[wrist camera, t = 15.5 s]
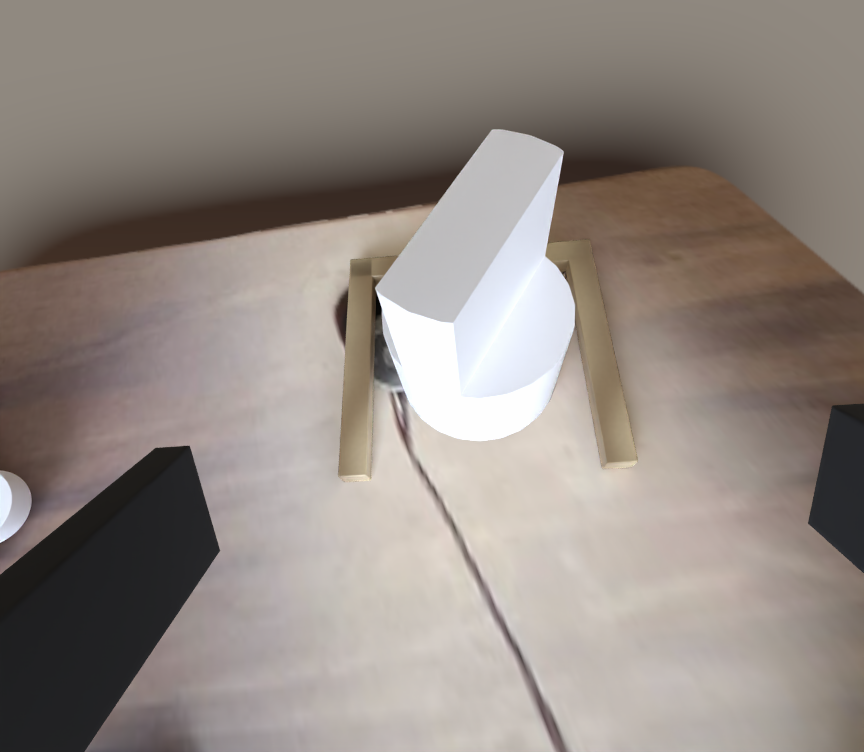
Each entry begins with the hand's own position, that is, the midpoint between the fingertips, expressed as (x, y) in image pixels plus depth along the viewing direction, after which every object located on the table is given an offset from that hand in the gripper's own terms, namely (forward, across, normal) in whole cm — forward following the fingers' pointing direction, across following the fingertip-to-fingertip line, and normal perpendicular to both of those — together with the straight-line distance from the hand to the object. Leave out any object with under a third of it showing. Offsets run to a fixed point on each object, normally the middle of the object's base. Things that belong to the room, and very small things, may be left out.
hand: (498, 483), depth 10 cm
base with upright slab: (+18, 0, -3) cm, 18 cm away
